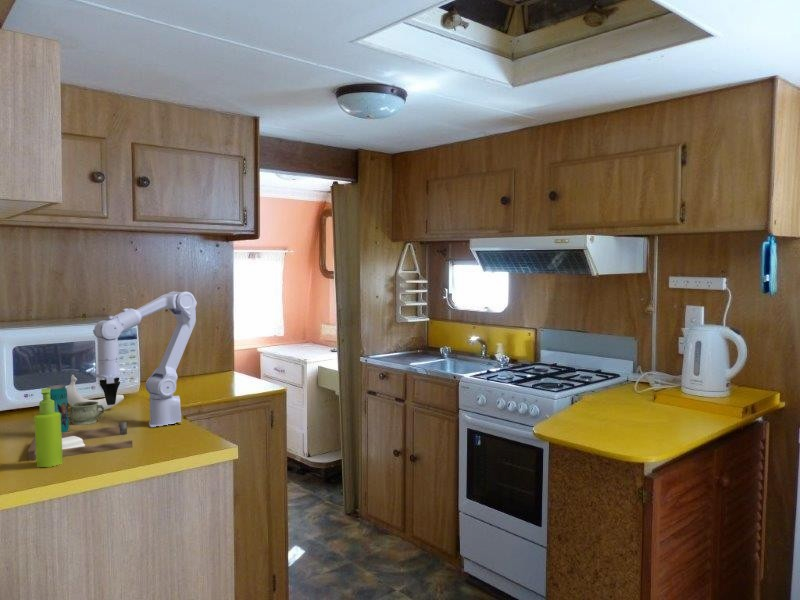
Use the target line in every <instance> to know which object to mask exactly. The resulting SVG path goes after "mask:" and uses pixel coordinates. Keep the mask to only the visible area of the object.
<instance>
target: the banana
mask: <svg viewBox="0 0 800 600" xmlns="http://www.w3.org/2000/svg"><path fill="white" fill-rule="evenodd" d="M77 381H78V379H77V377H75V375H74V374H71V377H70V383H69V384H68V385H67V386H66V389H67V400H68V405H69V406H70V405H71V404H74V403H79V402H89V401H94V402H98V404H97V405H102V406H103V407H104V411H106V410H108V409H110V408H112V407H115V406H116V405H118V404H120V403H121V402H122V401H123V400H124V399H125V397H124V395H123V394H117V395H116V402H115V405H107V402H106V398H105V397H104V398H101V399H100V398H99V399H87V398H85V397H83V396H81V394H80V393H79V392H78V389H77V388H76V382H77ZM98 411H99V412H102V408H98Z"/></svg>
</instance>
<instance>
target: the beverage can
mask: <svg viewBox="0 0 800 600" xmlns="http://www.w3.org/2000/svg"><path fill="white" fill-rule="evenodd" d="M46 388H51V390H50V399H52V400H54V404H55V412H59V413H60V414H61V433H62V432H69V429H70V426H69V425H70V424H69V423H70V422H69V421H68V417H69V411H68V408H69V403H68V400H67V389H66V388H67V386H66V385H64V384H56V385H49V386H47V387H46Z"/></svg>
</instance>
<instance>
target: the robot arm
mask: <svg viewBox="0 0 800 600" xmlns="http://www.w3.org/2000/svg"><path fill="white" fill-rule="evenodd" d="M197 305H198V302H197V300H196V298H195V296H194V294H192V292H189V291H170V292H168V293H164V294H162V295H160V296H159V297H157V298H155V299H153V300H151V301H149V302H147V303H145V304H144V305H142V306H141V307H138V308H137V309H134V308H131V307H130V308H124V309H123V308H122V309H121V312H120V313H117V314H116V315H110V316H108V319H107V320H100V321H98V322H97V323H96V324H95V326H94V329H93V330H92V332H93V335H94V336H95V338H96V340H97V341H96V343H97V361H98V362H97V363H98V364H97V365H98V374H97V373H96V374H94V378H100V379H99V385H100V388H101V389H102V392H103V393H104V398H106V402H107V405H115V402H116V395H118V394H117V392H118V390H119V387H120V384H121V381H120V376H121V372H120V357H119V355H120V354H119V342H118V341H119V340H118V338H119V337H120V335H121V334H123V333H124V332H126V331H128V330H130V329H132V328H134V327H137V326H138V325H140V323H141V322H142V321H141V320H142V319H143V318H146V317H148V316H150V315H153V314H155V313H157V312H159V311H162V310H164V309H167V310H169V311H170V312H171V313H172V314H173V316H174V317H175V319H176V321H177V323H176V325H175V328H174V330H173V333H172V335H171V338H170V340H169V343H168V345H167V346H166V349H165V352H164V355H163V356H162V358H161V362H160V363H159V366H157V368H155V369H154V370H153V372H152V374H151V376H149V377H148V378H147V380H146V382H145V390H146V391H147V392H148V393H149V399H148V400H149V417H150V420H149V421H148V426H149V427H150V428H156V426H159V427H164V426H163V425H167V426H169V425H168V424H174V423H176V422H181V423H182V412H181V410H182V409H181V398H180V395H174V394H175V393H176V391H177V380H178V378H179V377H178V373H177V369H178V367H179V364H180V361H181V359H182V357H183V354H184V352H185V350H186V347H187V345H188V342H189V339H190V338H191V335H192V332H193V330H194V329H195V325H196V322H197V316H196V313H197V312H196V307H197ZM115 406H116V405H115Z"/></svg>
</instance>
